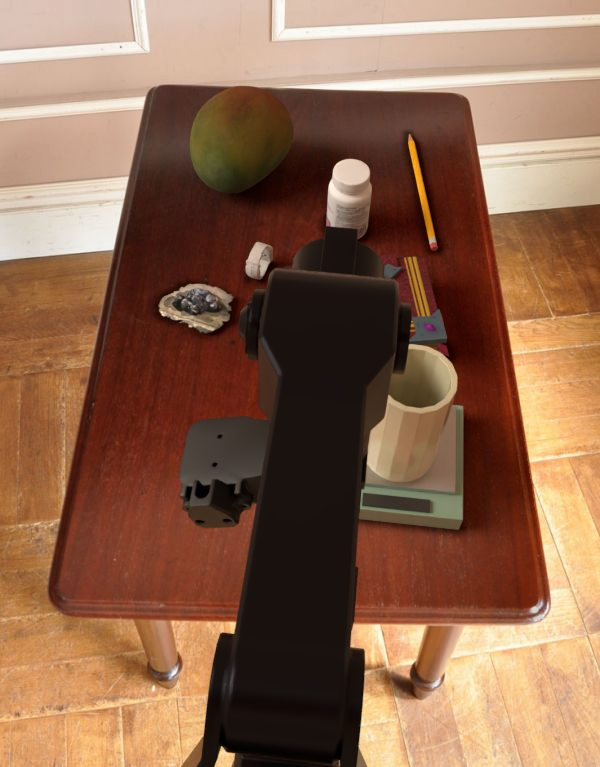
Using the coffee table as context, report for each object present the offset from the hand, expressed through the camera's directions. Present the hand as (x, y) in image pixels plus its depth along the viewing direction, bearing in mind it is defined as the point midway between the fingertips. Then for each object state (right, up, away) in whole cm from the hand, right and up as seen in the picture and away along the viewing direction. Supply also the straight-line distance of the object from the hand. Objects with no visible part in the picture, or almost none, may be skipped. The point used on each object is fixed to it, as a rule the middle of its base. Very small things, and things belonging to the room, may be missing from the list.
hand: (311, 538), depth 63 cm
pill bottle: (+4, +29, +35) cm, 46 cm away
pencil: (+13, +34, +39) cm, 53 cm away
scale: (+8, +4, +18) cm, 20 cm away
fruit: (-8, +36, +40) cm, 54 cm away
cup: (+8, +5, +16) cm, 19 cm away
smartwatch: (-5, +23, +31) cm, 39 cm away
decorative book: (+6, +17, +27) cm, 33 cm away
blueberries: (-12, +19, +28) cm, 36 cm away
